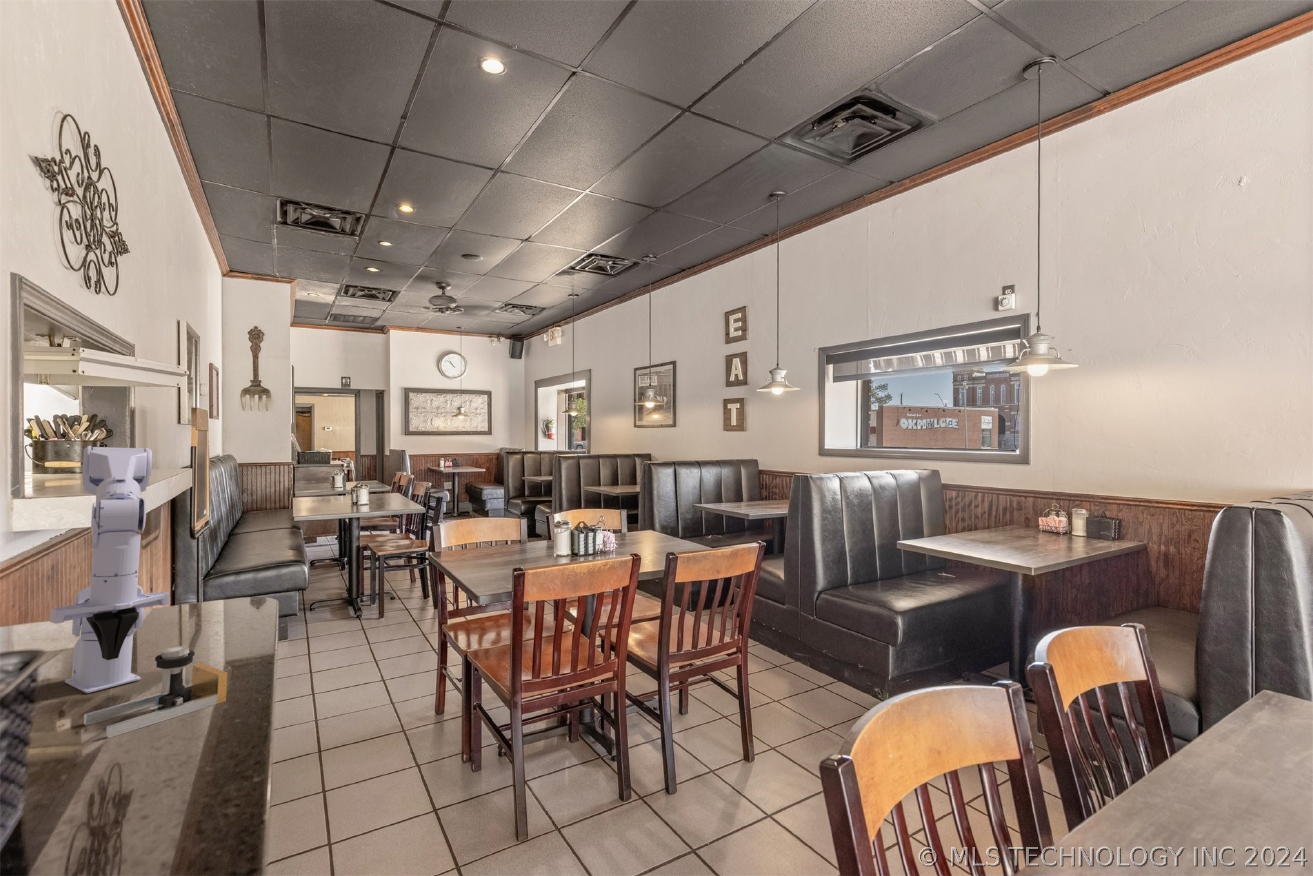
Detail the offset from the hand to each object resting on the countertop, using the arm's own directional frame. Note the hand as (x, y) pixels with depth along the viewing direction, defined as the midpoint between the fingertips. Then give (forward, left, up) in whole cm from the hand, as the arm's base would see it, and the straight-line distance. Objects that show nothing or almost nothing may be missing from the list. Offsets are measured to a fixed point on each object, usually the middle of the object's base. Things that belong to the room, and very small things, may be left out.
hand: (110, 658), depth 97 cm
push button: (+2, +8, -11) cm, 13 cm away
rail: (+2, +6, -10) cm, 12 cm away
